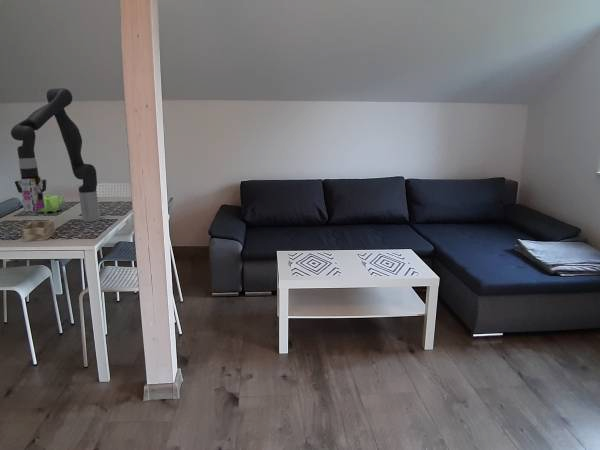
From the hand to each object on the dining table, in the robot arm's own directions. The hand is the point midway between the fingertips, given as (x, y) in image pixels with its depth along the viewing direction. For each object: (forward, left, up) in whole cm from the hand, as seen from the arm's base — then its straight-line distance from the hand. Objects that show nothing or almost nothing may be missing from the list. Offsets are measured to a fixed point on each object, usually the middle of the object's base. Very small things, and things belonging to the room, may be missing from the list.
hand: (33, 200), depth 224 cm
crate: (0, 0, -19) cm, 19 cm away
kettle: (+7, -62, -19) cm, 65 cm away
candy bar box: (0, 0, -5) cm, 5 cm away
